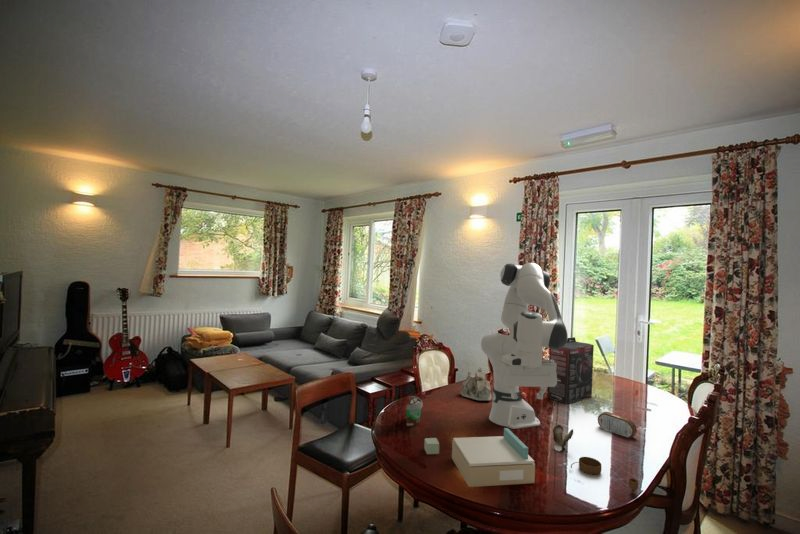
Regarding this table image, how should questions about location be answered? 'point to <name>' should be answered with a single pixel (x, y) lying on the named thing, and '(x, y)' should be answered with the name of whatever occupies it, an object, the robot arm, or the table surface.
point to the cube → (431, 446)
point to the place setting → (599, 470)
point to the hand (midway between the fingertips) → (526, 398)
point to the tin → (617, 424)
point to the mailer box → (492, 472)
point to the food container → (413, 411)
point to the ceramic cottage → (476, 386)
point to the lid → (494, 450)
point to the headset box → (572, 372)
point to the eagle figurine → (560, 438)
